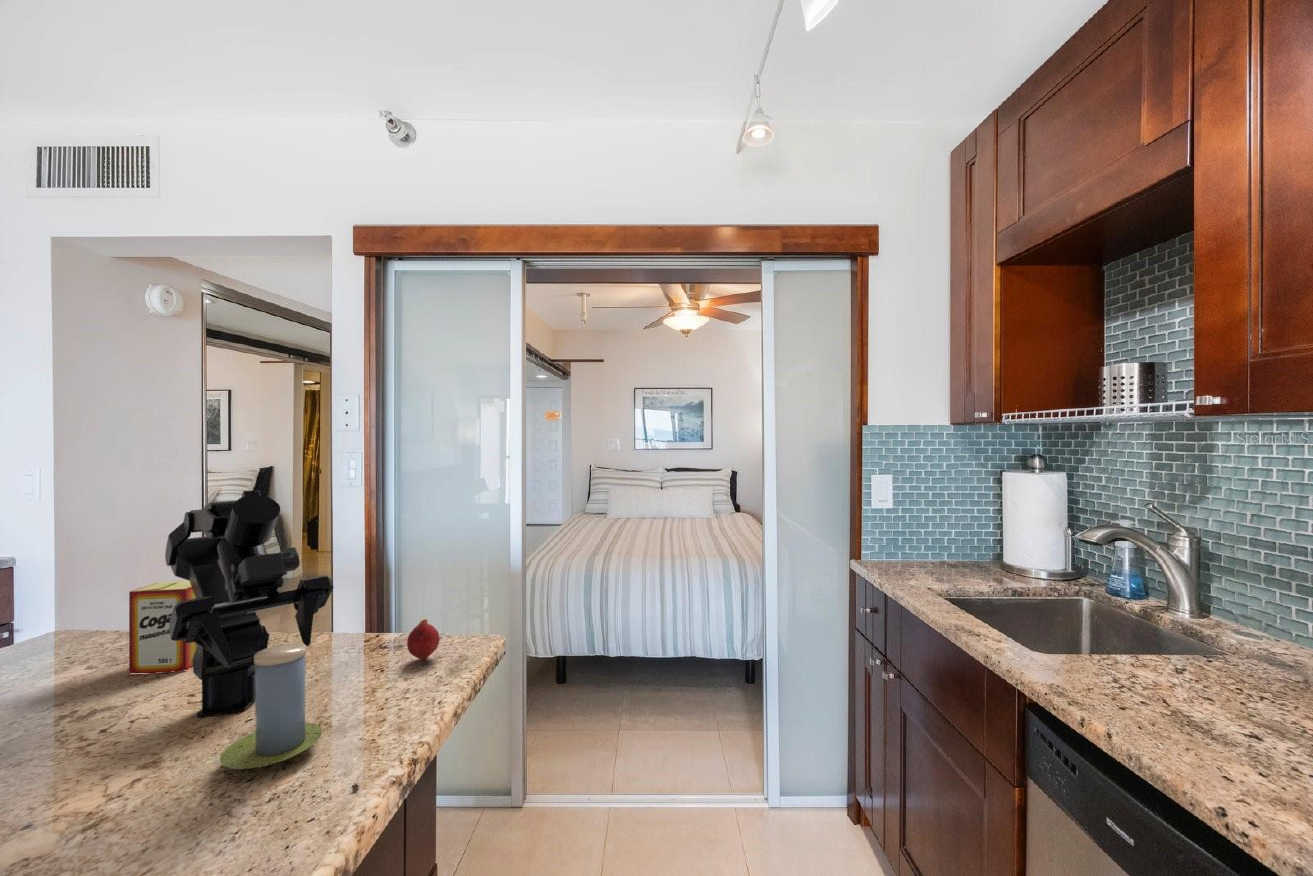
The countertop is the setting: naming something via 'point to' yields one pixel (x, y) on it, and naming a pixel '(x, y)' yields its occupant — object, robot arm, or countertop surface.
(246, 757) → the mat
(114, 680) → the countertop surface
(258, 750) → the canister
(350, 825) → the countertop surface
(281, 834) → the countertop surface
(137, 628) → the baking soda box
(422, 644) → the onion
